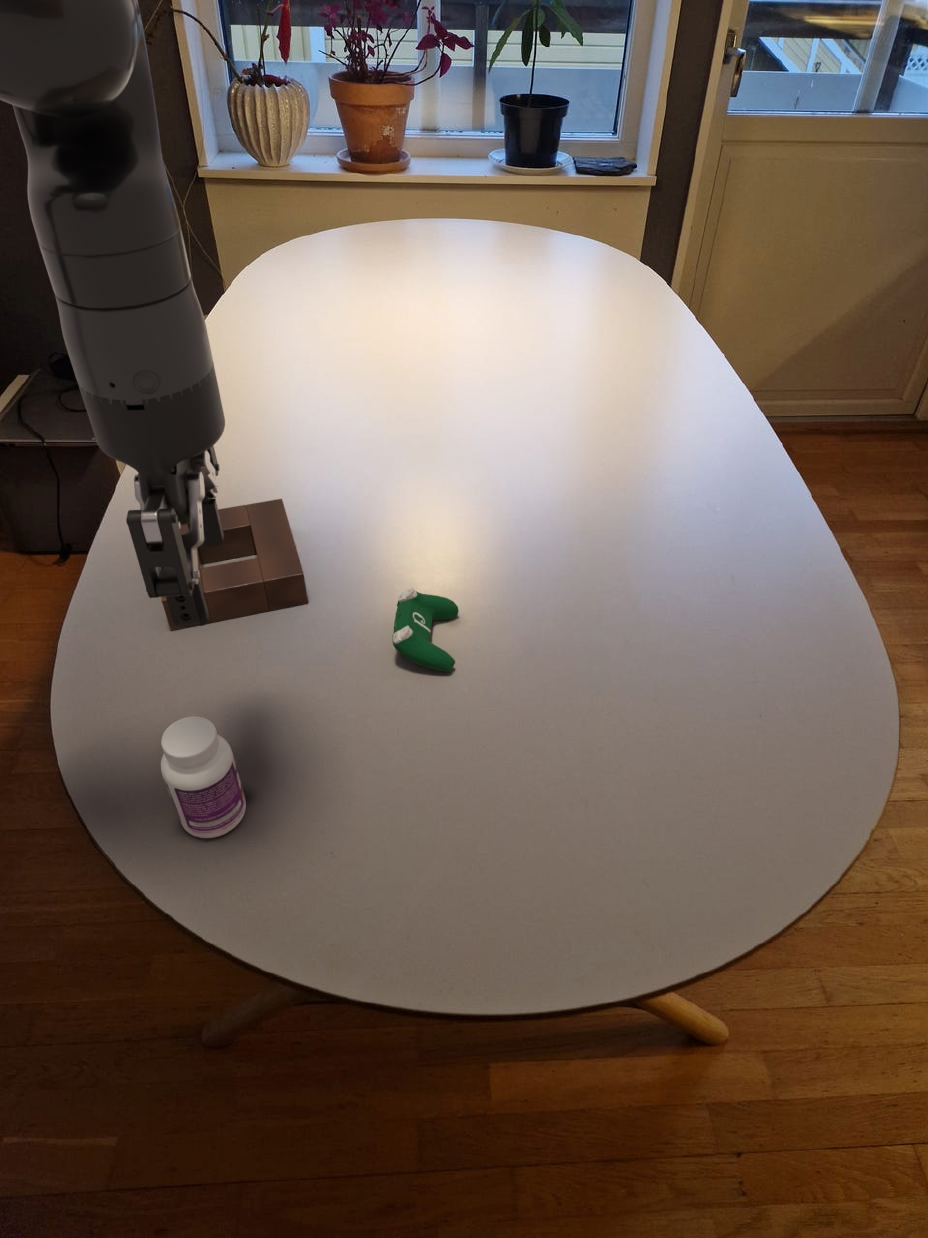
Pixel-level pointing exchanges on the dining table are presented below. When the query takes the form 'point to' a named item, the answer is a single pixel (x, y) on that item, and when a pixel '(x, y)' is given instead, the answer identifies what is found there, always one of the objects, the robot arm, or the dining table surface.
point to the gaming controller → (422, 628)
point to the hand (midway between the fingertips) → (201, 581)
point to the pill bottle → (202, 778)
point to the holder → (250, 564)
